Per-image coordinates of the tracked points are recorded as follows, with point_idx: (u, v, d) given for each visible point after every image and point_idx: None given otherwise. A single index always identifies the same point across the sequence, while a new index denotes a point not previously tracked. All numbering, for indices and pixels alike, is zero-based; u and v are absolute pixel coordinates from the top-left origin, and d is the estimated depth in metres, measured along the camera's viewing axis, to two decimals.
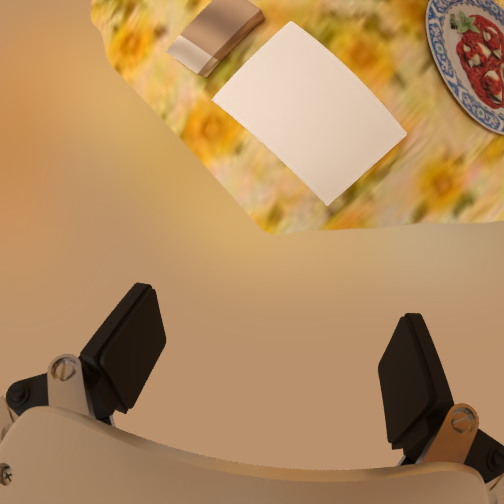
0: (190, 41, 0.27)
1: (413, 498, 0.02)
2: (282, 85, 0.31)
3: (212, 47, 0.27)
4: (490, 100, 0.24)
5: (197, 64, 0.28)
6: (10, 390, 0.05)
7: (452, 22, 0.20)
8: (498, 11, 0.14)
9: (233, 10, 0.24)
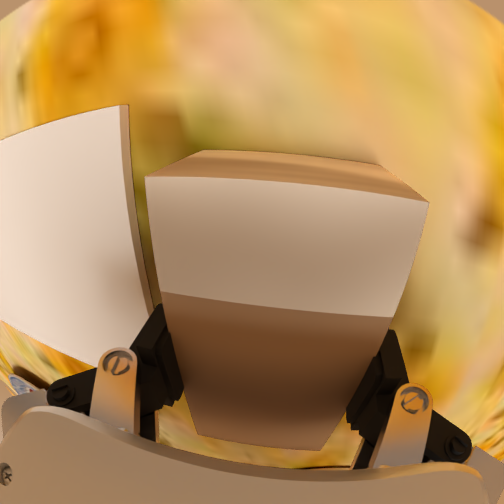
0: (316, 312, 0.06)
1: (413, 498, 0.02)
2: (57, 271, 0.12)
3: (198, 326, 0.07)
4: None
5: (183, 223, 0.06)
6: (52, 389, 0.06)
7: None
8: None
9: (250, 426, 0.10)
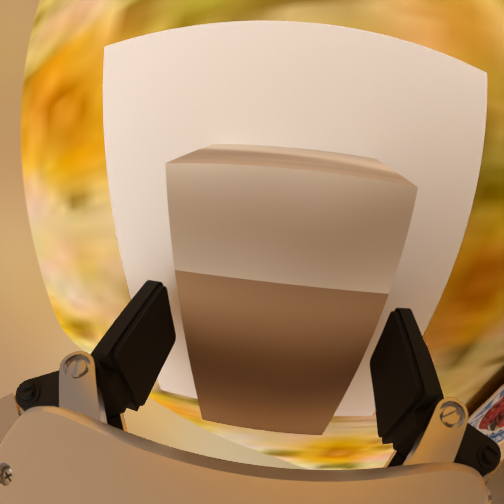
0: (318, 288, 0.07)
1: (413, 498, 0.02)
2: None
3: (209, 303, 0.08)
4: (487, 423, 0.16)
5: (199, 205, 0.07)
6: (20, 389, 0.05)
7: None
8: None
9: (255, 408, 0.11)
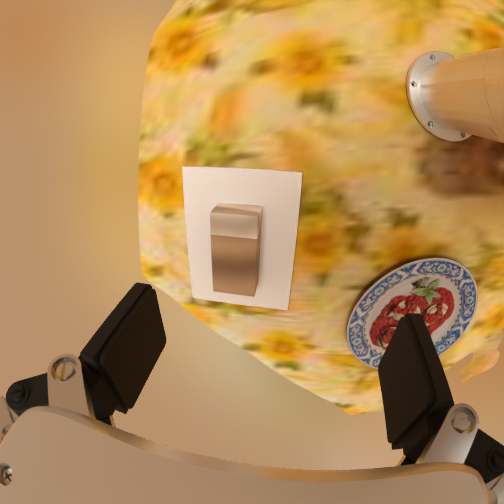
0: (241, 237, 0.35)
1: (413, 498, 0.02)
2: None
3: (218, 242, 0.36)
4: (375, 339, 0.44)
5: (216, 220, 0.35)
6: (10, 390, 0.05)
7: (419, 281, 0.38)
8: (470, 303, 0.37)
9: (230, 280, 0.38)
